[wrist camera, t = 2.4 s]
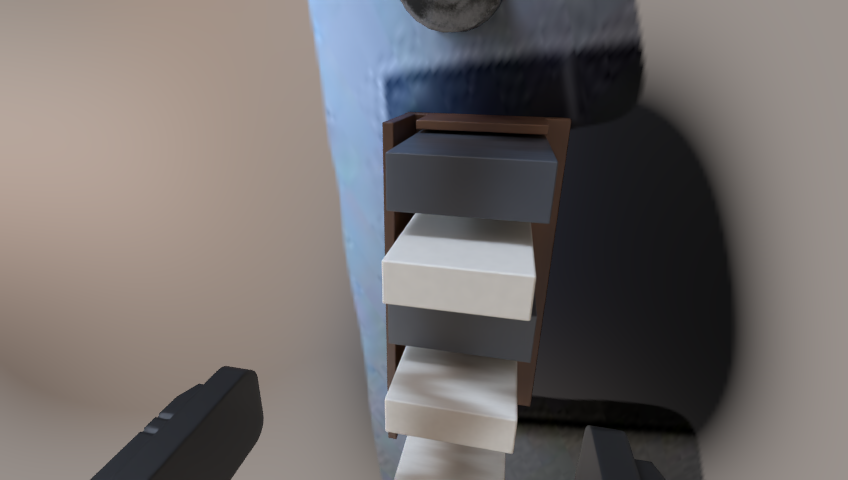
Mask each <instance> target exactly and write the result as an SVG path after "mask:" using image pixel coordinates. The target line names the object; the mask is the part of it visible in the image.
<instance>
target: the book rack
mask: <svg viewBox="0 0 848 480" xmlns="http://www.w3.org/2000/svg"><path fill="white" fill-rule="evenodd" d="M570 127H571V119H570V118H554V117H528V116H501V115H474V114H447V113H420V112H408V113H405V114H404V115H401V116H399V117H396V118H393V119H391V120H388V121H385V122H383V172H384V225H385V256H386V254H387V253H388V251H389V250H390V249H391V247H392V246H393V244H394V243H395V241H396V240H397V239H398V237H399V236H400V234H401V233H402V232H403V230H404V229H405V227H406V226H407V225H408V223H409V222H410V220H411V219H412V217H413V216H414V215H415V213H419V214H431V215H444V216H456V217H469V218H481V219H493V220H506V221H518V222H530V223H531V229H532V239H533V249H534V259H535V269H536V284H535V292H534V299H533V307H532V314H531V320H530V321H524V320H516V319H507V318H499V317H491V316H483V315H474V314H466V313H458V312H450V311H441V310H433V309H425V308H417V307H409V306H400V305H392V304H386V332H387V385H388V392H387V395H386V397H385V430H386V431H387V432H388V437H389V438H393V439H396V438H397V436H398V434H403V435H407V438H406V442H405V445H404V449H403V452H402V455H401V459H400V462H399V465H398V469H397V472H396V475H395V479H394V480H505V453H510V454H512V453H513V451H514V444H515V436H516V428H517V404H518V405H524V406H530V404H531V398H532V390H533V384H534V376H535V370H536V362H537V356H538V348H539V342H540V335H541V328H542V321H543V314H544V307H545V300H546V293H547V287H548V279H549V273H550V266H551V259H552V252H553V244H554V238H555V231H556V224H557V217H558V210H559V203H560V196H561V189H562V182H563V176H564V168H565V162H566V155H567V148H568V140H569V134H570Z"/></svg>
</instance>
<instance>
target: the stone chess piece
mask: <svg viewBox="0 0 848 480" xmlns="http://www.w3.org/2000/svg"><path fill="white" fill-rule="evenodd" d="M501 1H502V0H401V2H402V3H403V5H404V7H405V9H406V10H407V11H408V12H409V13H410V15H411V16H412V17H413V18H414V19H415V20H416V21H417V22H419V23H421V24H422V25H424V26H426V27H427V28H429V29H432V30H436V31H440V32H462V31H468V30H471V29H474V28H477V27H478V26H480V25H481V24H483V23H484V22H486V21H487V20H488V19H489V18H490V17H491V16H492V15H493V13H494V12H495V11H496V10H497V8H498V6H499V4H500V3H501Z"/></svg>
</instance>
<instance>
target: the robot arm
mask: <svg viewBox="0 0 848 480" xmlns="http://www.w3.org/2000/svg"><path fill="white" fill-rule="evenodd" d="M262 426H263V411H262V404H261V397H260V391H259V384H258V377H257V374H256V373H255V371H252V370H247V369H241V368H235V367H229V366H224V367H222V368H220V369H219V370H218V371H217V372H216V373H215V374H214V375H213V376H212V377H211V378H210V379H209V380H208V381H207V382H206V383H205V384H204V385H203V384H198V385H196V386H194V387H193V388H191V389H189V390H188V391H186V392H184V393H182V394H181V395H179V396H177V397H176V398H175V399H174V400H173V401H172V402H171V403H170V404H169V405H168V406H167V407H166V408H165V409H164V410H162V411H161V412H160V413H159V416H158V417H155V418H154V419H153V420H152V421H151V422H150V423H149V424H148V425H147V426H146V427H145V428H144V431H143V432H140V433H138V435H137V436H135V437H134V438H133V439H132V440H131V441H130V442H129V443H128V444H127V445H126V446H125V447H124V448H123V449H122V450H121V451H120V452H119V453H118V454H117V455H116V456H114V457H113V458H112V459H111V460H110V461H109V462H108V463H107V464H106V465H105V466H104V467H103V468H102V469H101V470H100V471H99V472H98V473H97V474H96V475H95V476H94V477H93V478H92V479H91V480H231V478H232V477H233V475H234V474H235V473H236V471H237V470H238V468H239V467H240V465H241V464H242V462H243V461H244V460H245V458H246V456H247V455H248V453H249V452H250V451H251V450H252V448H253V447H254V445H255V444H256V442H257V440H258V438H259V436H260V433H261V430H262ZM575 480H665V478H664V477H663V476H662V475H661V473H660V472H659V471H658V470H657V468H656V467H655V466H654V465H653V463H652V462H648V461H642V460H636V459H634V457H633V454H632V450H631V447H630V444H629V441H628V438H627V435H626V433H625V432H624V431H621V430H615V429H608V428H602V427H596V426H590V425H588V426H587V427H586V429H585V432H584V437H583V441H582V446H581V450H580V455H579V460H578V464H577V469H576V474H575Z"/></svg>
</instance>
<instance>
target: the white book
mask: <svg viewBox="0 0 848 480" xmlns="http://www.w3.org/2000/svg"><path fill="white" fill-rule="evenodd" d="M535 284H536V269H535V259H534V249H533V239H532V229H531V223H530V222H518V221H506V220H493V219H481V218H469V217H456V216H444V215H431V214H419V213H415V215H414V216H413V217H412V219H411V220H410V222H409V223H408V225H407V226H406V227H405V229H404V230H403V232H402V233H401V234H400V236H399V237H398V239H397V240H396V241H395V243H394V244H393V246H392V247H391V249H390V250H389V251H388V253H387V254H386V256H385V257H384V258H383V260H382V296H383V303H384V304H392V305H400V306H409V307H417V308H425V309H433V310H441V311H450V312H458V313H466V314H474V315H483V316H491V317H499V318H507V319H516V320H524V321H530V320H531V314H532V307H533V299H534V292H535Z"/></svg>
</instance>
